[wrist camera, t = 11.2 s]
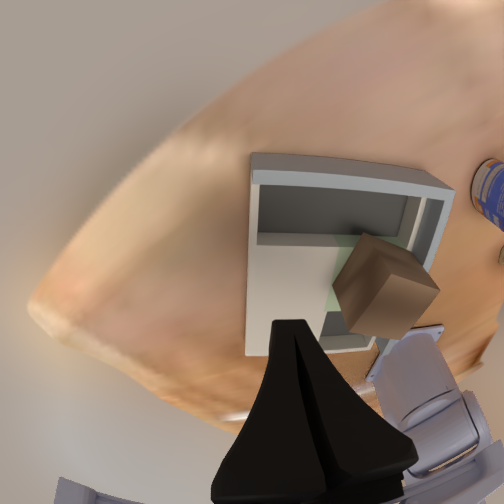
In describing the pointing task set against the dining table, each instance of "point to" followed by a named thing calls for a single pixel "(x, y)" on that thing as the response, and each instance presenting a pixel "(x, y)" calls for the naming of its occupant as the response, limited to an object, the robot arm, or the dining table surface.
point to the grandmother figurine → (501, 256)
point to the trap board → (329, 237)
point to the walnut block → (382, 289)
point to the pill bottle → (490, 191)
